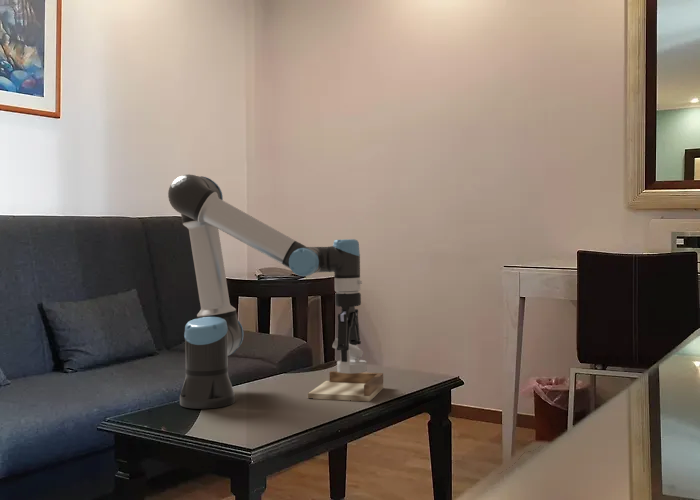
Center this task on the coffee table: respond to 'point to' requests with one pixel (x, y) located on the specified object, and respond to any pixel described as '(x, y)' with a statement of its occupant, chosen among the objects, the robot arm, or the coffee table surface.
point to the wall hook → (355, 364)
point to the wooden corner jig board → (349, 386)
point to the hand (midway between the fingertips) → (349, 369)
